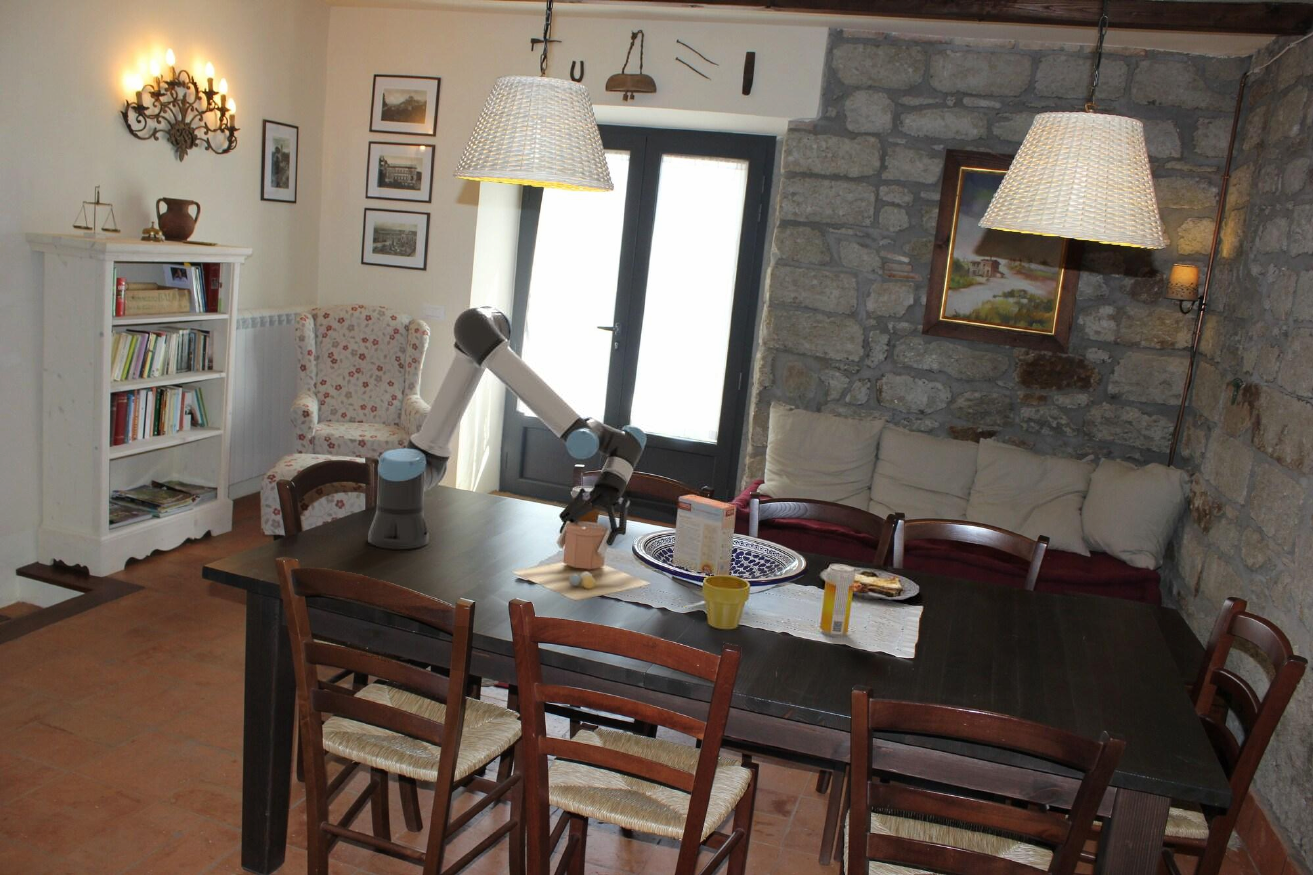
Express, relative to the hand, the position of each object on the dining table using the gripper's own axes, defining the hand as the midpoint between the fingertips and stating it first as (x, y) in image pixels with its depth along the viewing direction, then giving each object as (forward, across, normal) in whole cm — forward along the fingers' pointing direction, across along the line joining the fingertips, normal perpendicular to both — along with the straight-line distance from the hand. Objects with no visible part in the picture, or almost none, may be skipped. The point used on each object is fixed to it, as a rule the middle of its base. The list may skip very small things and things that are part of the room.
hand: (579, 550), depth 245 cm
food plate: (-23, -64, -31) cm, 75 cm away
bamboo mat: (+7, -4, -1) cm, 8 cm away
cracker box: (-5, -27, -14) cm, 31 cm away
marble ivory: (+10, -7, +2) cm, 12 cm away
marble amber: (+11, -9, +4) cm, 15 cm away
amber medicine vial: (+4, -65, -4) cm, 65 cm away
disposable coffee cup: (-21, +18, -30) cm, 40 cm away
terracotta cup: (+1, 0, -5) cm, 5 cm away
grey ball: (+12, -6, +5) cm, 14 cm away
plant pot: (+12, -43, +4) cm, 45 cm away
